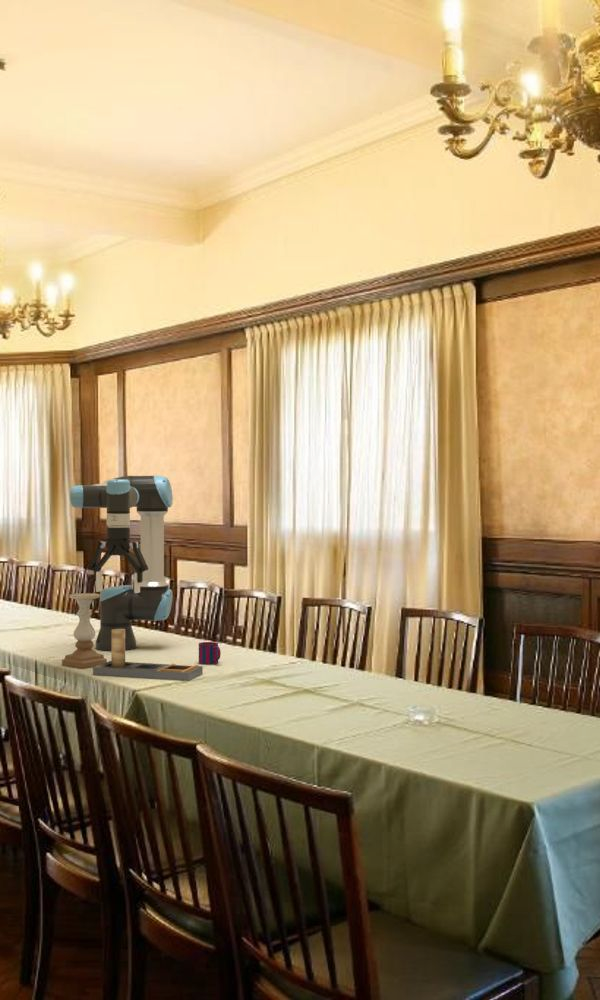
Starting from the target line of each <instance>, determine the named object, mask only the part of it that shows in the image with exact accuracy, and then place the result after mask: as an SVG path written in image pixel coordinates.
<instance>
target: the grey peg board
mask: <svg viewBox="0 0 600 1000" xmlns="http://www.w3.org/2000/svg"><path fill="white" fill-rule="evenodd" d="M203 668H204V667H203V665H202V666H201V665H199V664H195V665H187V664H186V665H185V664H184V665H183V664H176V663H171V664H170V663H169V664H165V663H153V662H152V663H151V662H135V661H134V662H133V661H125V667H111V660H109V661H107V662H106V663H103V664H100V665H98V666H95V667H92V675H93V676H101V677H102V676H107V677H121V678H122V677H123V678H137V679H152V678H153V680H171V681H184V680H187V682H188V681H191V680H194V679H196V678H197V677H200V676H201V674H202V675H203V673H204V672H203V670H204V669H203Z"/></svg>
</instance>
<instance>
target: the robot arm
mask: <svg viewBox="0 0 600 1000" xmlns="http://www.w3.org/2000/svg"><path fill="white" fill-rule="evenodd" d="M69 492H70V493H69V501H70V505H71V506H72V507H73V508H77V509H78V508H79V509H98V508H99V509H101V508H103V509H106V526H108V527H106V533H105V535H106V536H105V537H106V541H103V540H102V541H101V540H100V541H97V544H96V549H95V551H94V554H93V555H92V557H91V560H90V563H89V564H88V567H87V568H88V570H91V571H93V581H94V582H95V592H96V593H97V592H98V593H99V592H100V597H99V598H100V599H99V603H100V604H99V607H100V612H99V613H100V614H99V615H100V618H99V620H100V621H99V622H100V623H99V624H100V627H99V631H98V634H97V636H96V639H95V649H96V650H100V651H111V638H112V629H125V651H129V650H133V649H136V648H137V638H136V636H135V634H134V633H135V632H134V631H133V630H134V629H133V625H132V624H133V621H154V622H156V621H165V620H167V619H168V618H169V615H170V613H171V610H172V605H173V598H174V597H173V596H174V595H173V590H172V589H170V588H169V584H168V583H167V582H166V580H165V568H164V567H165V561H164V560H165V553H164V552H165V548H164V547H165V538H164V537H165V536H164V535H165V528H164V527H165V525H164V524H165V520H164V519H165V516H166V514H167V513H168V512H169V508H171V507H172V506H173V500H174V499H173V490H172V485H171V482H170V480H169V478H168V477H167V476H164V475H156V474H155V475H123V476H118V477H114V478H110V479H107V480H105V481H103V482H101V483H97V484H90V485H81V484H80V485H74V486H72V487H71V488H70V491H69ZM131 508H136V513H137V514H138V515H139V517H140V542H139V541H134V542H131V541H130V539H131V528H130V526H131ZM105 548H107V550H106V551H105V552H104V555H103V556H102V557H101V555H102V554H103V551H104V549H105ZM130 548H131V549H132V551H133V553H134V556H135V557H136V558H135V557H134V556H133V553H132V552H131V551H130V550H129V549H130ZM112 556H123V557H125V558H126V560H127V561H128V562H129V563H130V565H131V566H132V568H133V569H134V571H135V572H134V578H133V580H134V581H133V582H134V583H133V584H134V585H133V587H132V584H125V585H124V584H122V585H117V586H110V587H109V586H108V587H106V588H103V571H101V570H102V568H103V567H104V565H105V564H106V563H107V562H108V560H109V559H110V558H111V557H112ZM99 559H100V560H99ZM136 559H137V560H136Z"/></svg>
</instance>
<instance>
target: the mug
mask: <svg viewBox="0 0 600 1000" xmlns="http://www.w3.org/2000/svg"><path fill="white" fill-rule="evenodd" d="M221 654H222V653H221V647H219V642H217V641H203V642H202V641H201V642H199V643H198V665H207V666H208V665H217V664H219V660H220V659H221Z"/></svg>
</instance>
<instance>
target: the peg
mask: <svg viewBox="0 0 600 1000" xmlns="http://www.w3.org/2000/svg"><path fill="white" fill-rule="evenodd" d="M110 657H111V658H110V659H111V660H110V661H111V667H125V662H126V650H125V629H112V638H111V656H110Z"/></svg>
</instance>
